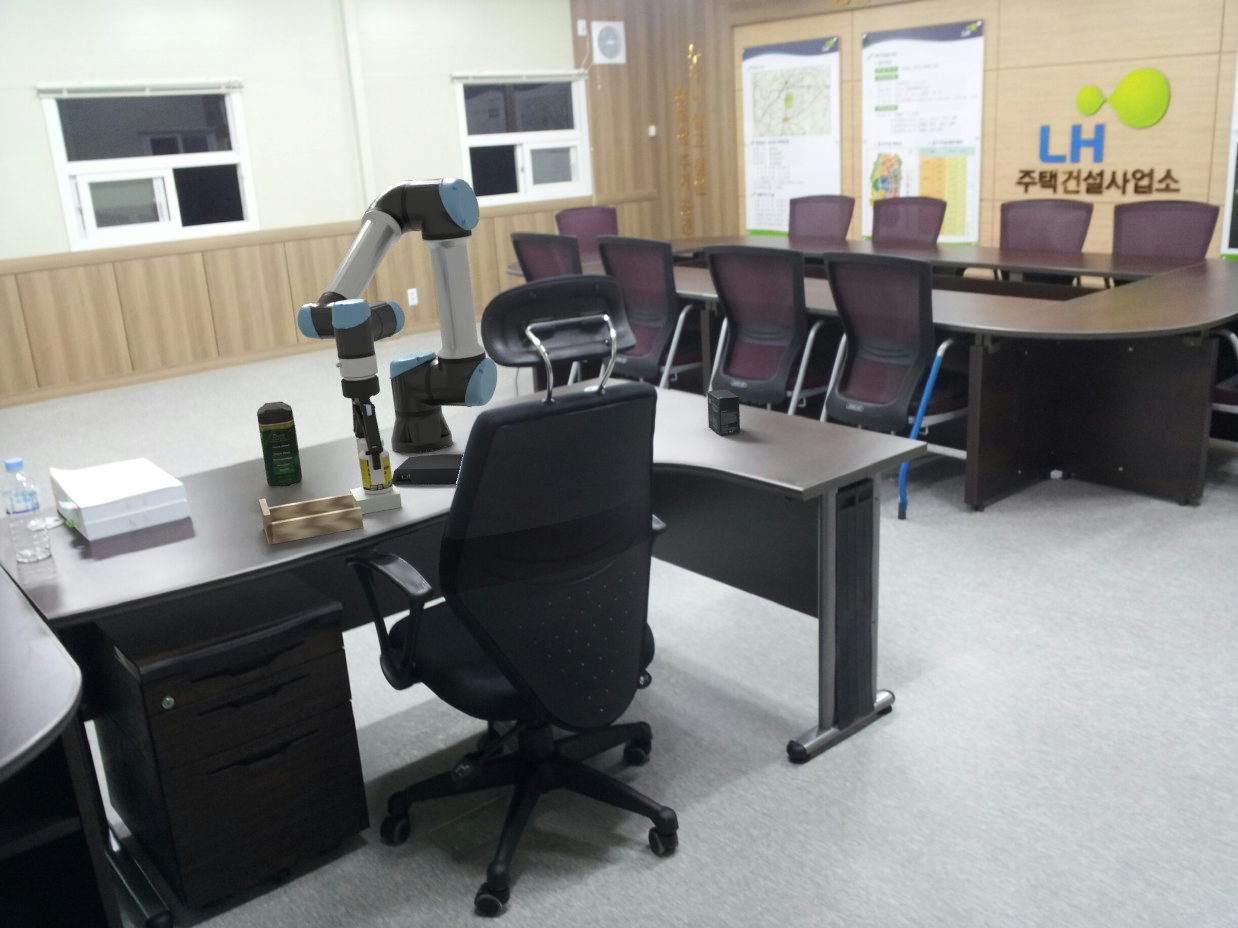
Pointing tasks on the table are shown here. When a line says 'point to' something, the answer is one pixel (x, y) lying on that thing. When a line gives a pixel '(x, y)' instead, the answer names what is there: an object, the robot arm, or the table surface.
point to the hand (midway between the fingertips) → (372, 475)
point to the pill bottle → (365, 471)
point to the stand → (376, 500)
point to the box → (723, 412)
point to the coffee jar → (279, 444)
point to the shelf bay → (310, 518)
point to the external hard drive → (428, 470)
